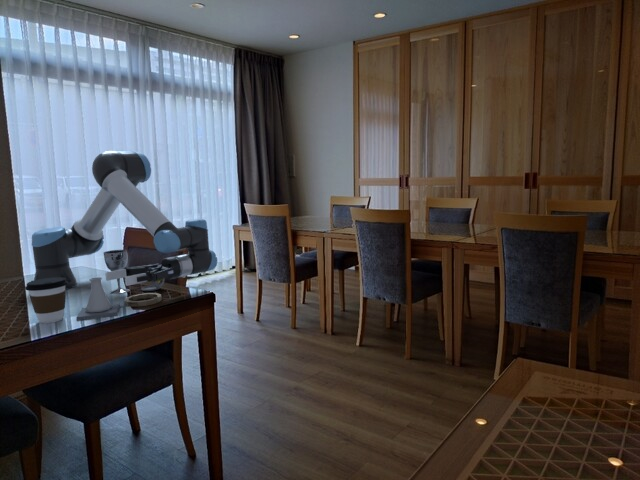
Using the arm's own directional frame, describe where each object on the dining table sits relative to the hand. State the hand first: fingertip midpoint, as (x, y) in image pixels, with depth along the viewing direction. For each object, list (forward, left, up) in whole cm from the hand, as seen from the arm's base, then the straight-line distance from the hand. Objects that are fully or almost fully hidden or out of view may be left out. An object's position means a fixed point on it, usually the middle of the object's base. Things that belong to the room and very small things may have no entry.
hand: (115, 278), depth 149 cm
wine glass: (-26, -2, -10) cm, 28 cm away
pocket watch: (-22, +10, -10) cm, 26 cm away
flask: (+3, -5, -9) cm, 11 cm away
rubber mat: (+3, -5, -10) cm, 11 cm away
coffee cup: (+4, -18, -10) cm, 21 cm away
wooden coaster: (-5, +7, -10) cm, 13 cm away
